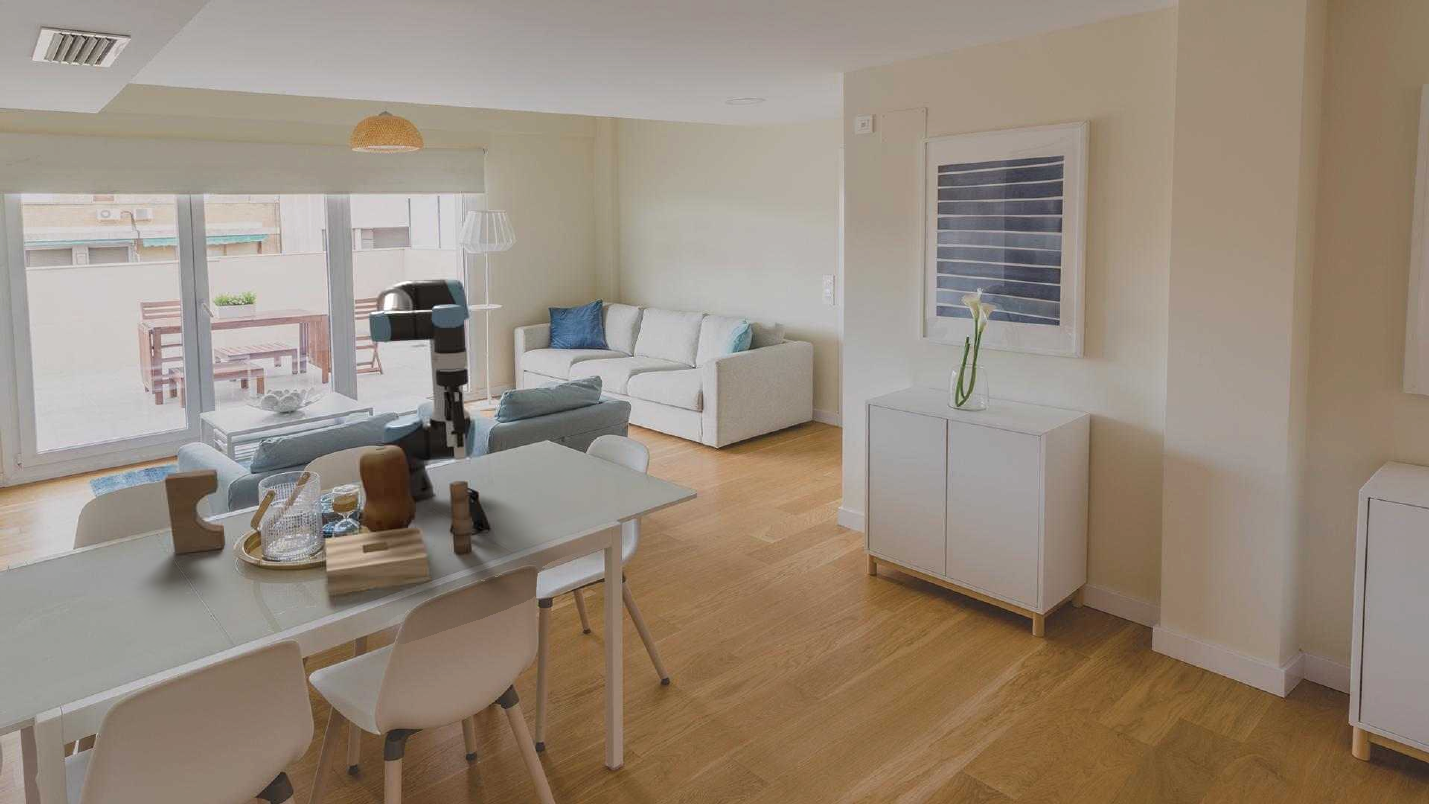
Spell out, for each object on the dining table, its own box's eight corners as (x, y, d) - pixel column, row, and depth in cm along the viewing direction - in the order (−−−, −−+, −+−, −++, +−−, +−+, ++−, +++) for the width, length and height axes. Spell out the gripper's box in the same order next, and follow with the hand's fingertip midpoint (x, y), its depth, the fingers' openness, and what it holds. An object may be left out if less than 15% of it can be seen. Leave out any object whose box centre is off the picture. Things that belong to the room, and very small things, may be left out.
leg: (452, 549, 240) (448, 482, 236) (470, 546, 242) (466, 480, 238) (455, 555, 236) (450, 487, 232) (473, 552, 238) (469, 485, 234)
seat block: (327, 561, 232) (325, 538, 231) (419, 548, 241) (418, 526, 239) (329, 595, 213) (326, 571, 211) (429, 580, 221) (427, 556, 220)
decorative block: (225, 541, 245) (216, 468, 241) (223, 549, 240) (214, 474, 236) (178, 547, 241) (168, 473, 237) (174, 555, 236) (164, 479, 232)
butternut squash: (364, 532, 252) (356, 442, 247) (416, 525, 257) (409, 437, 252) (365, 550, 240) (357, 456, 234) (420, 543, 244) (413, 450, 239)
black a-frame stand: (461, 538, 248) (458, 494, 245) (449, 532, 252) (447, 489, 250) (491, 529, 254) (488, 487, 252) (479, 524, 258) (476, 482, 256)
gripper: (429, 361, 238) (435, 442, 243) (441, 378, 216) (447, 467, 221) (459, 359, 241) (464, 439, 246) (475, 376, 219) (480, 463, 223)
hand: (456, 452), depth 233 cm, fingers open, 13 cm apart
